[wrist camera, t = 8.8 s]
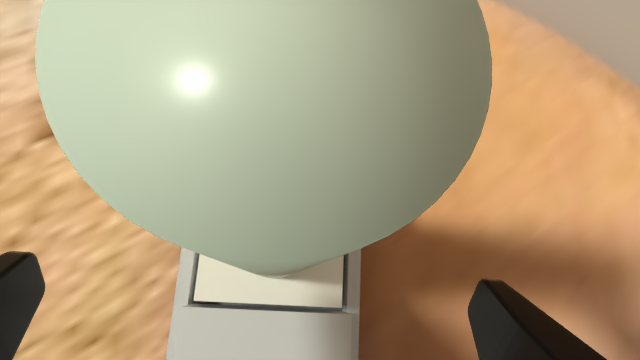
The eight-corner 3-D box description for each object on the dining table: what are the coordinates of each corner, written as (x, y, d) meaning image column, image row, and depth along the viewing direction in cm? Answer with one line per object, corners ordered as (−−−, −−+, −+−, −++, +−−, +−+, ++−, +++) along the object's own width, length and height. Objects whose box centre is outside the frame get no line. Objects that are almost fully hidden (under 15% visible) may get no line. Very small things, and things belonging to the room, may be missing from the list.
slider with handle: (333, 304, 16) (671, 437, 2) (203, 298, 15) (-304, 422, 2) (338, 186, 17) (575, -162, 4) (218, 176, 17) (-16, -269, 3)
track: (342, 485, 16) (360, 541, 12) (163, 484, 15) (131, 544, 12) (356, 50, 21) (371, 6, 17) (223, 35, 20) (213, -14, 17)
